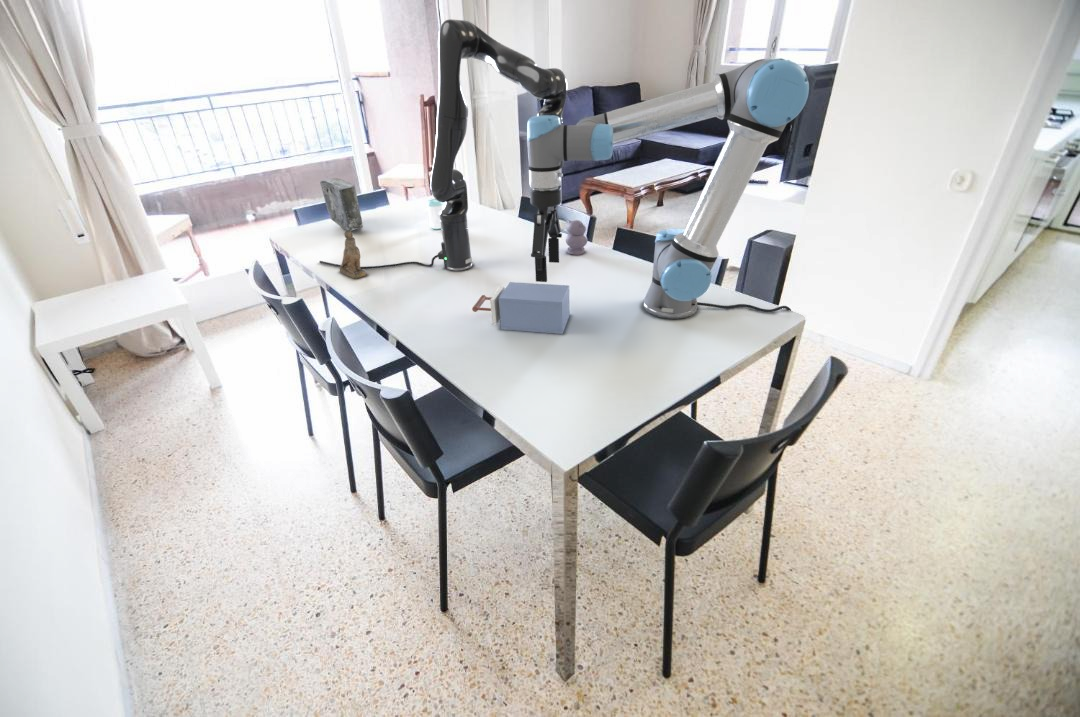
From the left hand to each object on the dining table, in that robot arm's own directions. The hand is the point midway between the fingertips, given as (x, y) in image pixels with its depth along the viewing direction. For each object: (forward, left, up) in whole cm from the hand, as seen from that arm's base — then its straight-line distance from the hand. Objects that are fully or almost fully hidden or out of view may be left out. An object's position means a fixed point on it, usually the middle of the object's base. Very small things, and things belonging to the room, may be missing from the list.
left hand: (551, 208), depth 148 cm
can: (-67, +56, -26) cm, 91 cm away
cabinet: (+1, -25, -26) cm, 36 cm away
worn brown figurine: (-74, -1, -26) cm, 78 cm away
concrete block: (-108, +48, -26) cm, 121 cm away
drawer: (-5, -25, -25) cm, 36 cm away
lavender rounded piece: (+1, +34, -26) cm, 43 cm away
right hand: (+6, -27, -9) cm, 29 cm away
